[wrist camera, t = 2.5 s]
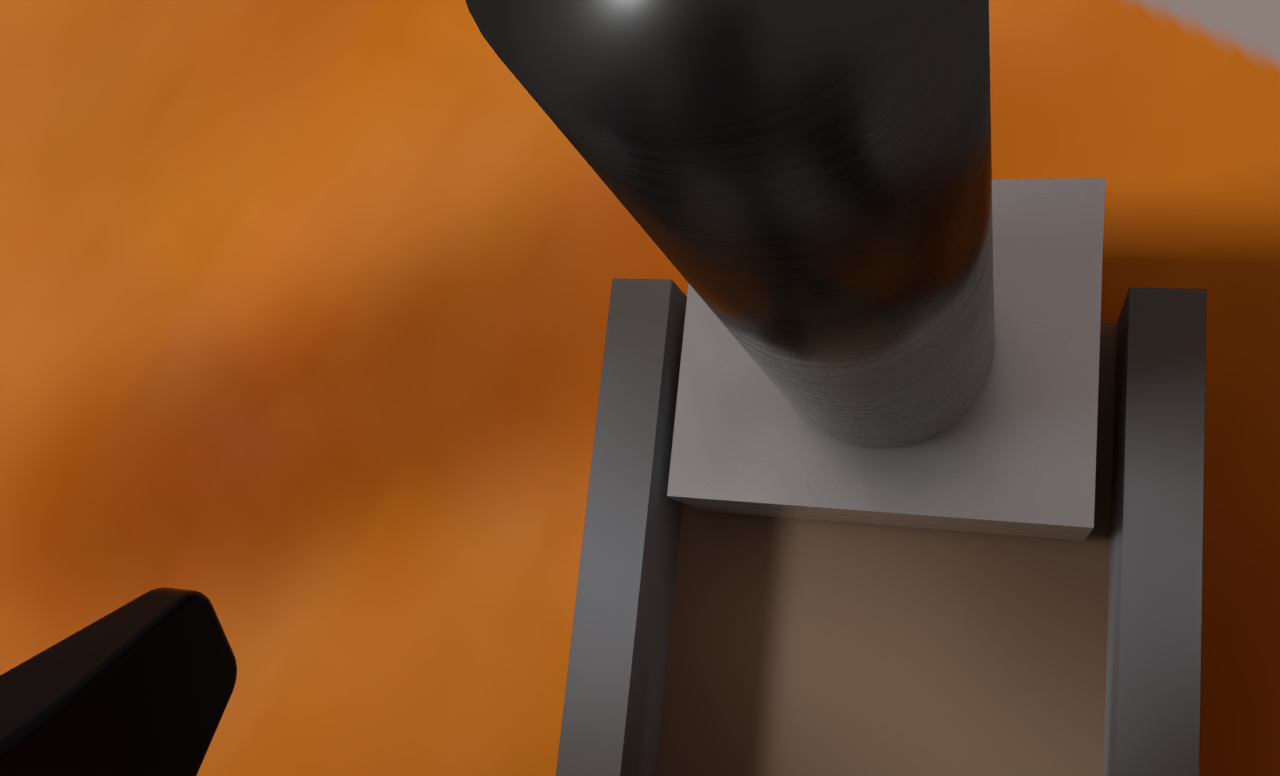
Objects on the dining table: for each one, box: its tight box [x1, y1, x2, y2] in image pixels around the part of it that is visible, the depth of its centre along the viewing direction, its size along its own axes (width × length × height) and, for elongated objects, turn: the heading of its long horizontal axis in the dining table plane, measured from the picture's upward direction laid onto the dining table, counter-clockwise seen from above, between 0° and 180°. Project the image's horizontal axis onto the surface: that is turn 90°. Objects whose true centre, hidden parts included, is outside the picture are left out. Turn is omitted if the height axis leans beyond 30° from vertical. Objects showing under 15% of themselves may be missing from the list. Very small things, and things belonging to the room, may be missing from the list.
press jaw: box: [466, 0, 1105, 541], centre depth 13 cm, size 5×6×13 cm
